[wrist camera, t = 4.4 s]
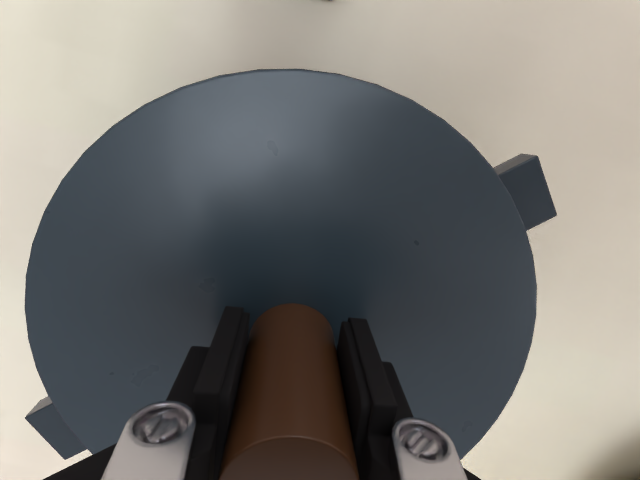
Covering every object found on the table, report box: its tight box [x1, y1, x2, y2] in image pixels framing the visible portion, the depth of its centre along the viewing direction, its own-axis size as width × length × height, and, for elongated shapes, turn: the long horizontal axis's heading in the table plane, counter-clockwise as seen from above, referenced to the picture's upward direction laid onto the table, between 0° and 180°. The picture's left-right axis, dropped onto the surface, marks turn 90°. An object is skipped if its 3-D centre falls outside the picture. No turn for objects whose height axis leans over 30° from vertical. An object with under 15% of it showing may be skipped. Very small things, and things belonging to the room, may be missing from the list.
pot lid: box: [25, 69, 537, 480], centre depth 11 cm, size 17×17×7 cm
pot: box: [25, 154, 557, 460], centre depth 18 cm, size 16×21×9 cm
